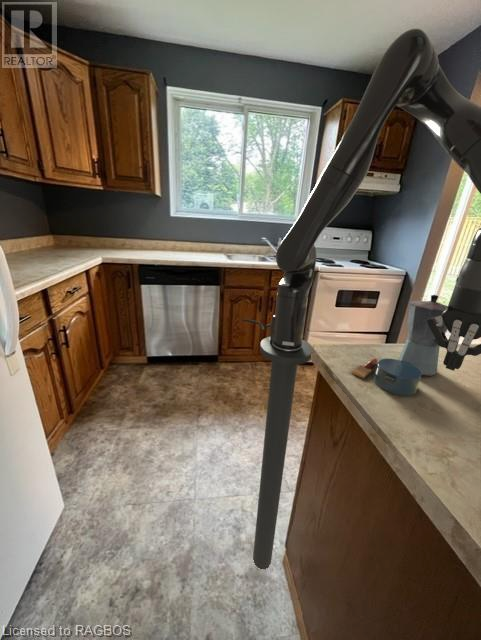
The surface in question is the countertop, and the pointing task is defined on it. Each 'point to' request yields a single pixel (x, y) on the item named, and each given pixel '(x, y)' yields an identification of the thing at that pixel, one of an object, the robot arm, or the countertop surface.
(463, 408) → the countertop surface
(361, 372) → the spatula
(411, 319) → the moka pot
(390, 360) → the pot
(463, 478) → the countertop surface
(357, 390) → the countertop surface
